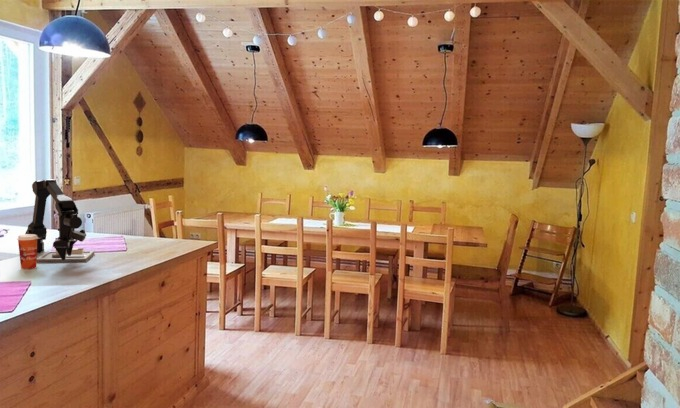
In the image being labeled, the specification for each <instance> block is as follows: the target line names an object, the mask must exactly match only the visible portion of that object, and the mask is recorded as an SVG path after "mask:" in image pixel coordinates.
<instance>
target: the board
mask: <svg viewBox="0 0 680 408" xmlns="http://www.w3.org/2000/svg"><path fill="white" fill-rule="evenodd" d="M83 251H84V254H82V255H71V256H68V255H66V258H65V260H62V259H61V257H52V254H54V253H56V250H54V251H53V250H51V251H49V250H48V251H46V252H45V253H43V254H41V255H40V256H37V263H36V264H38V263H39V264H40V263H41V264H42V263H43V264H44V263H86V262H88V261H89V260H90V259H91V258H92V257H93V256H94V255H95V250H83Z"/></svg>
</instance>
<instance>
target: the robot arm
mask: <svg viewBox="0 0 680 408" xmlns="http://www.w3.org/2000/svg"><path fill="white" fill-rule="evenodd" d="M31 188H32V192H33V194H34V196H35V199H34V206H33V207H34V208H33V212H32V213H33V215H32V221H31V222H30V223H28V226H27V230H26V231H25V233H24V234H35V235H37V237H38V239H37V254H40V253H42V252H44V251H45V243H44V240H45V241H46V239H47V233H48V231H47V227H46V225H45V224H44V221H45V220H44V219H45V214H46V213H45V211H46V206H47V205H46V204H47V199H48V197H49V196H51V197H52V198H53V200H54V202H55V204H54V207H55V210H56V211H57V216H58V228H57V231H58V237H57V239H56V240H54V241H53V243H52V247H53V248H54V249H55V251H56V250H57V252H58V253H59V255H60V257H61V259H62V260H65V258H66V251H67V254H68V256H71V253H72V249H74V245H75V243H77V242H78V241H79V242H80V243H81V242H84V241H85V239H86V237H87V233H86V230H85V229H80V230H77V229H79V228H80V227H81V226H82V225H83V220H82V218H81V217H79V216H78V215H79V209H78V207H77V205H76V203H75V201H74V200H73V199H72V198H71V197H70V196H67V195H66V194H65V193H64V192H63V190H62V189H61V188H60V186H59V185H58V184H57V180H56V179H54V178H53V179H52V178H50V179H47V178H46V179H43V180H35V181H33V183H32V184H31Z"/></svg>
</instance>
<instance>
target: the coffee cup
mask: <svg viewBox="0 0 680 408" xmlns="http://www.w3.org/2000/svg"><path fill="white" fill-rule="evenodd" d="M37 239H38V237H37V235H35V234H25V233H24V234H19V235H18V237H17V238H16V240H17V243H18V251H19V252H18V253H19V261H20V262H19V263H20V268H21V269H22V270H31V269H35V268H37V264H38V263H37V258H38V253H37Z"/></svg>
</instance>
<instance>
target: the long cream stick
mask: <svg viewBox="0 0 680 408" xmlns="http://www.w3.org/2000/svg"><path fill="white" fill-rule="evenodd" d="M55 251H56V253H54V254H52V257H60V255H59V253H58V252H57V250H56V249H55ZM84 251H85V250H84V247H78V248H73V249H72V253H71V255H82V254H84ZM66 255H68V254H67V251H66Z"/></svg>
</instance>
